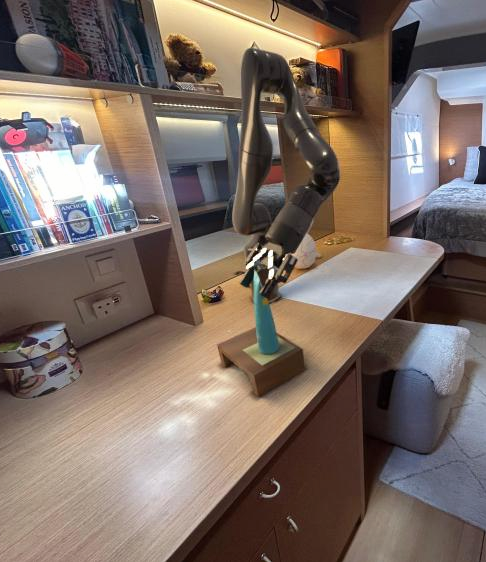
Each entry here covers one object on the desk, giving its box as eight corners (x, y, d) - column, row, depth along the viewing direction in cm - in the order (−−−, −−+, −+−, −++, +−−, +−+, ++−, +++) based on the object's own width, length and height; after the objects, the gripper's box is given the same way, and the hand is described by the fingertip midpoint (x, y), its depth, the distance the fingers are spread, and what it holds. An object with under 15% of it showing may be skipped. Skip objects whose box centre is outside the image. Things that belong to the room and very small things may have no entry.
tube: (283, 353, 79) (271, 277, 72) (263, 359, 77) (248, 283, 70) (274, 338, 85) (262, 267, 78) (255, 344, 83) (241, 271, 76)
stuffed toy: (295, 240, 130) (327, 217, 149) (268, 240, 136) (302, 218, 155) (307, 283, 139) (336, 256, 158) (281, 280, 145) (312, 255, 164)
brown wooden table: (221, 364, 87) (216, 343, 84) (266, 342, 95) (262, 323, 93) (258, 397, 75) (253, 374, 72) (305, 369, 83) (302, 348, 81)
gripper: (261, 215, 79) (223, 275, 76) (297, 223, 69) (256, 293, 67) (283, 232, 84) (249, 289, 81) (319, 242, 75) (283, 307, 72)
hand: (252, 291), depth 74 cm, fingers open, 8 cm apart
